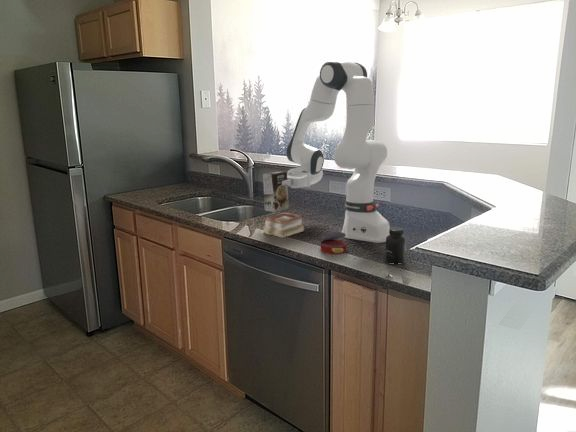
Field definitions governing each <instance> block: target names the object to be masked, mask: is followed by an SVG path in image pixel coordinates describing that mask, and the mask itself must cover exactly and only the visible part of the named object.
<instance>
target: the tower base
mask: <svg viewBox="0 0 576 432" xmlns="http://www.w3.org/2000/svg"><path fill="white" fill-rule="evenodd" d="M302 219H303V217H302V215H299V214H294V213H289V212H288V213H287V212H282V213H278V214H274V215H270V216H268V217H265V219H264V221H265V222H264V223H265V224H264V226H262V227H263V229H262V230H263V234H265V235H266V234H267V235H271V236H273V237H277V236H278V238H281V237H282V238H283V237H284V238H286V236H287V237H289V236H292V235H295V234H299V233H301V232H304V231H305V230H304V227H305V226H304V224H303V223H302V221H303V220H302ZM284 238H283V239H284Z"/></svg>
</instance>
